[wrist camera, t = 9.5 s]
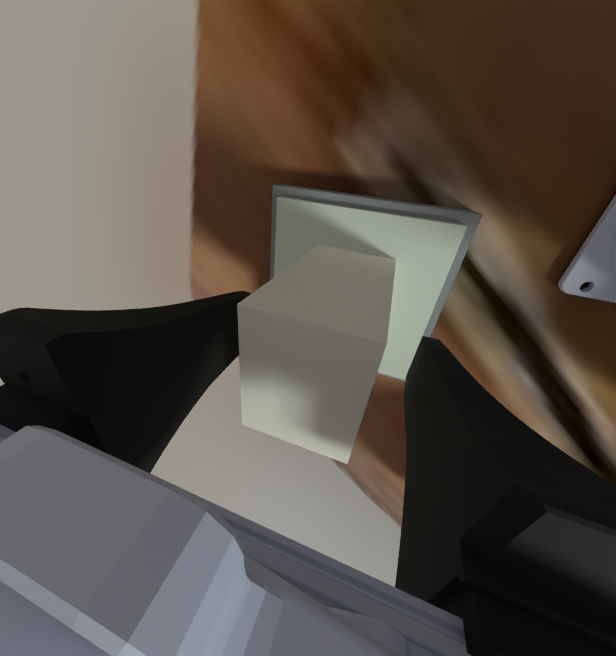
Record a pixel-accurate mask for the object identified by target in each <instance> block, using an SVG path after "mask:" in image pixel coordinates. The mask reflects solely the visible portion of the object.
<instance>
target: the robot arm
mask: <svg viewBox="0 0 616 656" xmlns="http://www.w3.org/2000/svg"><path fill="white" fill-rule="evenodd" d="M585 282H590V283H589V286H588V287H586V288H584V289H580V286H581V285H582V284H583V283H585ZM558 288H559V289H560V290H561V291H563V292H564V293H567V294H571V295H576V296H582V297H587V298H592V299H597V300H602V301H608V302H613V303H616V195H615V196H614V198H613V199H612V201H611V202H610V204H609V205H608V207H607V208H606V210H605V212H604V213H603V215H602V216H601V218H600V219H599V221H598V222H597V224H596V225H595V227H594V228H593V230H592V231H591V233H590V234H589V236H588V237H587V239H586V241H585V242H584V244H583V245H582V247H581V248H580V250H579V251H578V253H577V254H576V256H575V257H574V259H573V260H572V262H571V263H570V265H569V266H568V268H567V270H566V271H565V273H564V274H563V276H562V277H561V279H560V280H559V283H558ZM251 294H252V293H249V292H245V291H238V292H232V293H227V294H222V295H218V296H213V297H209V298H204V299H200V300H195V301H190V302H185V303H180V304H174V305H168V306H161V307H153V308H143V309H127V310H109V311H108V310H106V311H105V310H104V311H83V310H79V311H77V310H55V309H38V308H37V309H36V308H18V309H13V310H10V311H7V312H4V313H1V314H0V378H1V379H2V381H3V382H4V383H5V384H4V385H2V386H0V656H616V486H615V485H613V484H612V483H610V482H608V481H607V480H605V479H604V478H602V477H601V476H599V475H598V474H596V473H594V472H593V471H591V470H590V469H588V468H587V467H585V466H584V465H582V464H581V463H579V462H577V461H576V460H574V459H573V458H571V457H570V456H569V455H567V454H566V453H564V452H563V451H561V450H560V449H558V448H557V447H555V446H554V445H553V444H551V443H550V442H549V441H547V440H546V439H544V438H543V437H542V436H540V435H539V434H538V433H536V432H535V431H534V430H532V429H531V428H530V427H528V426H527V425H526V424H525V423H523V422H522V421H521V420H519V419H518V418H517V417H516V416H515V415H513V414H512V413H511V412H510V411H509V410H507V409H506V408H505V407H504V406H503V405H502V404H500V403H499V402H498V401H497V400H496V399H495V398H494V397H493V396H492V395H490V394H489V393H488V392H487V391H486V390H485V389H484V388H483V387H482V386H481V385H480V384H479V383H478V382H477V381H476V380H475V379H474V378H473V377H472V375H471V374H470V373H469V372H468V371H467V370H466V369H465V368H464V367H463V366H462V365H461V363H460V362H459V361H458V360H457V359H456V358H455V357H454V355H453V354H452V353H451V352H450V351H449V350H448V349H447V347H446V346H445V345H444V344H443V343H442V342H441V341H440V340H438V339H434V338H430V337H426V336H422V338H421V341H420V343H419V345H418V348H417V350H416V353H415V355H414V358H413V360H412V363H411V365H410V367H409V370H408V372H407V375H406V382H405V392H404V407H405V427H406V446H407V462H406V478H405V493H404V506H403V518H402V528H401V539H400V550H399V558H398V567H397V576H396V584H395V587H393V586H391V585H389V584H386V583H384V582H382V581H380V580H378V579H376V578H373V577H371V576H369V575H367V574H365V573H362V572H360V571H358V570H356V569H354V568H352V567H350V566H348V565H345V564H343V563H341V562H339V561H337V560H335V559H332V558H330V557H328V556H326V555H324V554H322V553H319V552H317V551H315V550H313V549H311V548H309V547H307V546H305V545H302V544H300V543H298V542H296V541H294V540H292V539H289V538H287V537H285V536H283V535H281V534H279V533H277V532H274V531H272V530H270V529H268V528H266V527H264V526H261V525H259V524H257V523H255V522H253V521H251V520H249V519H246V518H244V517H242V516H240V515H238V514H236V513H233V512H231V511H229V510H227V509H225V508H223V507H221V506H218V505H216V504H214V503H212V502H210V501H208V500H205V499H203V498H201V497H199V496H197V495H195V494H193V493H190V492H188V491H186V490H184V489H182V488H180V487H178V486H176V485H174V484H171V483H169V482H167V481H165V480H163V479H161V478H158V477H156V476H154V475H152V474H150V472H151V471H152V469H153V467H154V466H155V464H156V462H157V461H158V459H159V458H160V456H161V454H162V452H163V451H164V449H165V448H166V446H167V445H168V443H169V442H170V440H171V438H172V437H173V436H174V434H175V433H176V431H177V429H178V428H179V426H180V425H181V424H182V422H183V420H184V419H185V418H186V416H187V415H188V414H189V412H190V411H191V409H192V408H193V407H194V405H195V404H196V403H197V401H198V400H199V399H200V397H201V396H202V395H203V393H204V392H205V391H206V389H207V388H208V387H209V386H210V385H211V384H212V382H213V381H214V380H215V379H216V378H217V377H218V376H219V375H220V374H221V373H222V372H223V371H224V370H225V369H226V368H227V366H229V364H230V363H231V362H232V361H233V360H234V359H235V358H236V357H237V356H238V355H239V336H238V312H237V304H238V303H239V302H241V301H242V300H244V299H245V298H246V297H248V296H249V295H251Z"/></svg>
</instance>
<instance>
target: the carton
mask: <svg viewBox="0 0 616 656" xmlns="http://www.w3.org/2000/svg"><path fill="white" fill-rule="evenodd" d="M395 267H396V259H391V258H385V257H380V256H375V255H370V254H365V253H359V252H354V251H349V250H344V249H338V248H333V247H328V246H323V245H318V246H317V247H316V248H314V249H313V250H311V251H310V252H309V253H307V254H306V255H305V256H303V257H302V258H300V259H299V260H298V261H296V262H295V263H293V264H292V265H291V266H289V267H288V268H287V269H285V270H284V271H282V272H281V273H280V274H278V275H277V276H275V277H274V278H273V279H271V280H270V281H269V282H267V283H266V284H264V285H263V286H262V287H260V288H259V289H257V290H256V291H255V292H253V293H252V294H251V295H249V296H248V297H246V298H245V299H244V300H242V301H241V302H239V303H238V304H237V312H238V336H239V360H240V384H241V406H242V407H241V408H242V425H244V426H247V427H250V428H252V429H255V430H258V431H260V432H263V433H266V434H268V435H271V436H274V437H276V438H279V439H282V440H284V441H287V442H290V443H292V444H295V445H298V446H300V447H303V448H306V449H309V450H311V451H314V452H316V453H319V454H322V455H324V456H327V457H330V458H332V459H335V460H338V461H340V462H343V463H346V464H348V461H349V457H350V454H351V451H352V448H353V445H354V442H355V439H356V436H357V433H358V430H359V427H360V424H361V421H362V418H363V415H364V412H365V409H366V406H367V403H368V400H369V397H370V394H371V391H372V388H373V385H374V381H375V378H376V375H377V372H378V369H379V366H380V363H381V360H382V357H383V354H384V351H385V348H386V345H387V339H388V330H389V321H390V312H391V303H392V294H393V285H394V276H395Z"/></svg>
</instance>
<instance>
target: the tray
mask: <svg viewBox="0 0 616 656" xmlns="http://www.w3.org/2000/svg"><path fill="white" fill-rule="evenodd" d="M481 217H482V214H480V213H477V212H475V211H472V210H465V209H458V208H451V207H444V206H437V205H430V204H423V203H416V202H408V201H401V200H394V199H387V198H380V197H373V196H366V195H359V194H352V193H345V192H338V191H330V190H323V189H316V188H309V187H302V186H295V185H288V184H280V185H273V190H272V223H271V255H270V280H271V279H273V278H274V277H275V276H277V275H278V274H280V273H281V272H282V271H284V270H285V269H287V268H288V267H289V266H291V265H292V264H293V263H295V262H296V261H298V260H299V259H300V258H302V257H303V256H305V255H306V254H307V253H309V252H310V251H311V250H313V249H314V248H316V247H317V246H318V245H323V246H328V247H333V248H338V249H344V250H349V251H354V252H359V253H365V254H370V255H375V256H380V257H385V258H391V259H396V267H395V276H394V285H393V294H392V303H391V312H390V321H389V330H388V339H387V345H386V348H385V351H384V354H383V357H382V360H381V363H380V366H379V369H378V372H377V374H380V375H384V376H387V377H390V378H394V379H397V380H401V381H404V382H406V375H407V372H408V370H409V367H410V365H411V363H412V360H413V358H414V355H415V353H416V350H417V348H418V345H419V343H420V341H421V338H422V336H426V337H430V336H431V333H432V331H433V329H434V326H435V324H436V322H437V319H438V317H439V315H440V312H441V310H442V308H443V305H444V303H445V301H446V298H447V296H448V294H449V291H450V289H451V287H452V284H453V282H454V280H455V277H456V275H457V273H458V270H459V268H460V266H461V263H462V261H463V259H464V256H465V254H466V252H467V249H468V247H469V245H470V242H471V240H472V238H473V235H474V233H475V231H476V228H477V226H478V224H479V221H480V219H481Z"/></svg>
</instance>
